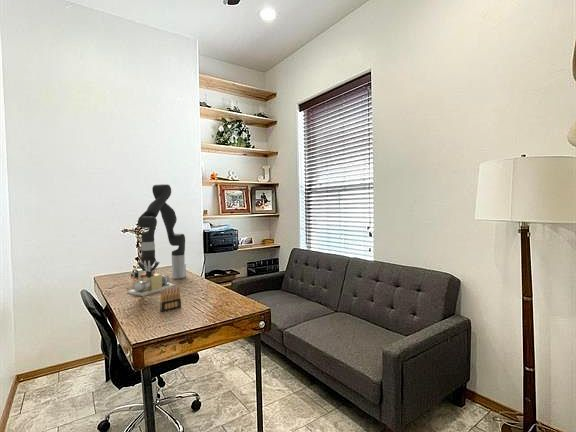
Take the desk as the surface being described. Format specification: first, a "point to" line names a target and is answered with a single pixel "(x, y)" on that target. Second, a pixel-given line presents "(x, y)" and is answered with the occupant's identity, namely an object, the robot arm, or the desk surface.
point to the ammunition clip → (170, 299)
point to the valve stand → (151, 285)
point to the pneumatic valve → (138, 274)
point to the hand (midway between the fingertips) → (149, 277)
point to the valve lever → (145, 274)
